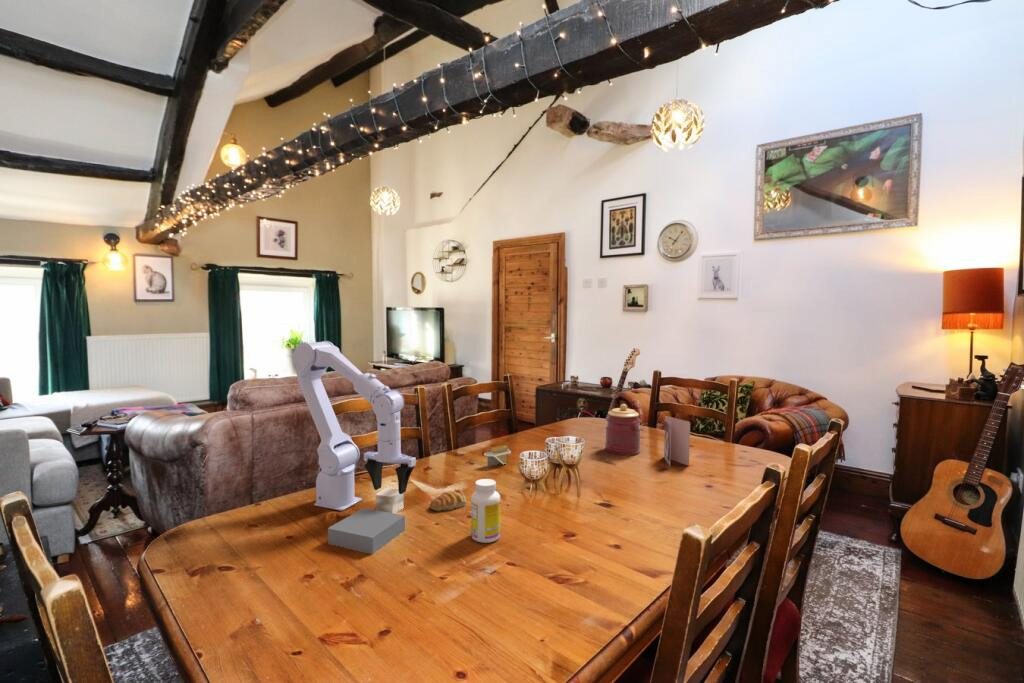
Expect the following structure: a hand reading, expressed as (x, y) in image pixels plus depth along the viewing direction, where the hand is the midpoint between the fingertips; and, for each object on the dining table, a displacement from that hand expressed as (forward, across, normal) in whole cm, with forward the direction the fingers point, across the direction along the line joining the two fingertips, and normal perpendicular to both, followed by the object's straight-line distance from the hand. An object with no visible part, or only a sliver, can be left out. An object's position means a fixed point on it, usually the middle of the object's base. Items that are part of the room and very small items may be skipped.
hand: (389, 490), depth 124 cm
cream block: (+5, 0, 0) cm, 5 cm away
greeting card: (+6, -67, -71) cm, 98 cm away
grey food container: (+6, -12, -45) cm, 47 cm away
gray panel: (+6, -4, +14) cm, 16 cm away
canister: (+6, -48, -78) cm, 92 cm away
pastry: (+6, -12, -9) cm, 16 cm away
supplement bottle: (+6, -29, +4) cm, 30 cm away
